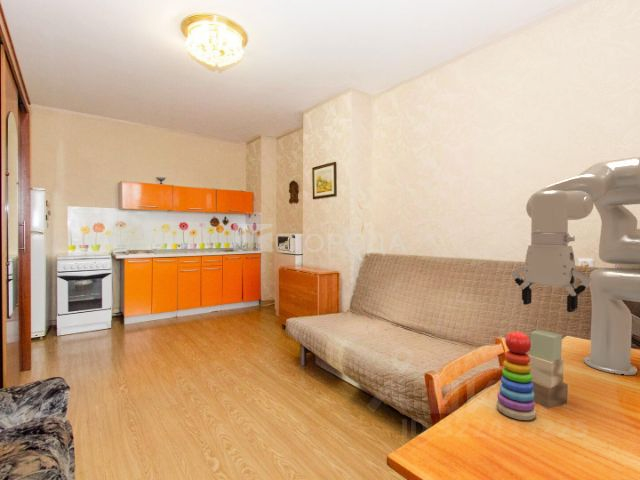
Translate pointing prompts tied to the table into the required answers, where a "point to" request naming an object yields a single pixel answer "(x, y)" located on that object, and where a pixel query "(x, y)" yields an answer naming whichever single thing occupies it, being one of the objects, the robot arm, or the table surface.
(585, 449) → the table surface
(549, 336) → the sage block
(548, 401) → the walnut base
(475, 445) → the table surface
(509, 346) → the stacking toy
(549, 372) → the maple block
